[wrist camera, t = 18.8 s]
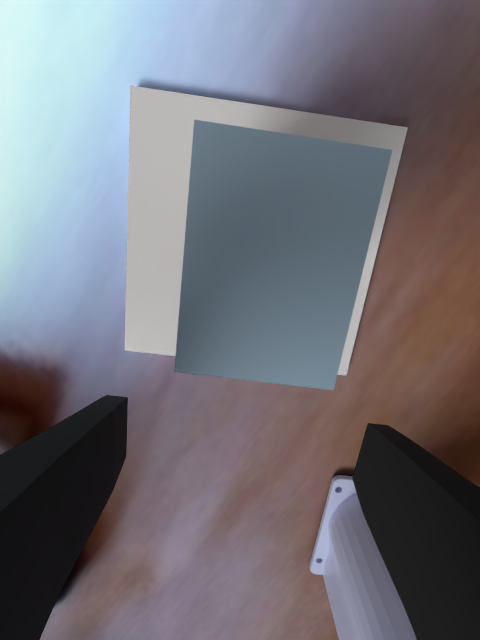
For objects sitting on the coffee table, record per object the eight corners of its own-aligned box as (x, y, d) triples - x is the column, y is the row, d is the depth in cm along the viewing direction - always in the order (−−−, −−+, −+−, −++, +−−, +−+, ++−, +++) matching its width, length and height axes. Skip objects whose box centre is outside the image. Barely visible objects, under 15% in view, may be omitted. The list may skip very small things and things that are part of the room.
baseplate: (343, 371, 20) (346, 375, 19) (128, 346, 19) (124, 350, 19) (401, 131, 16) (407, 127, 15) (134, 90, 15) (130, 85, 15)
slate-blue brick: (298, 332, 13) (333, 390, 8) (197, 319, 13) (174, 371, 8) (327, 183, 12) (392, 149, 7) (212, 166, 11) (194, 119, 7)
